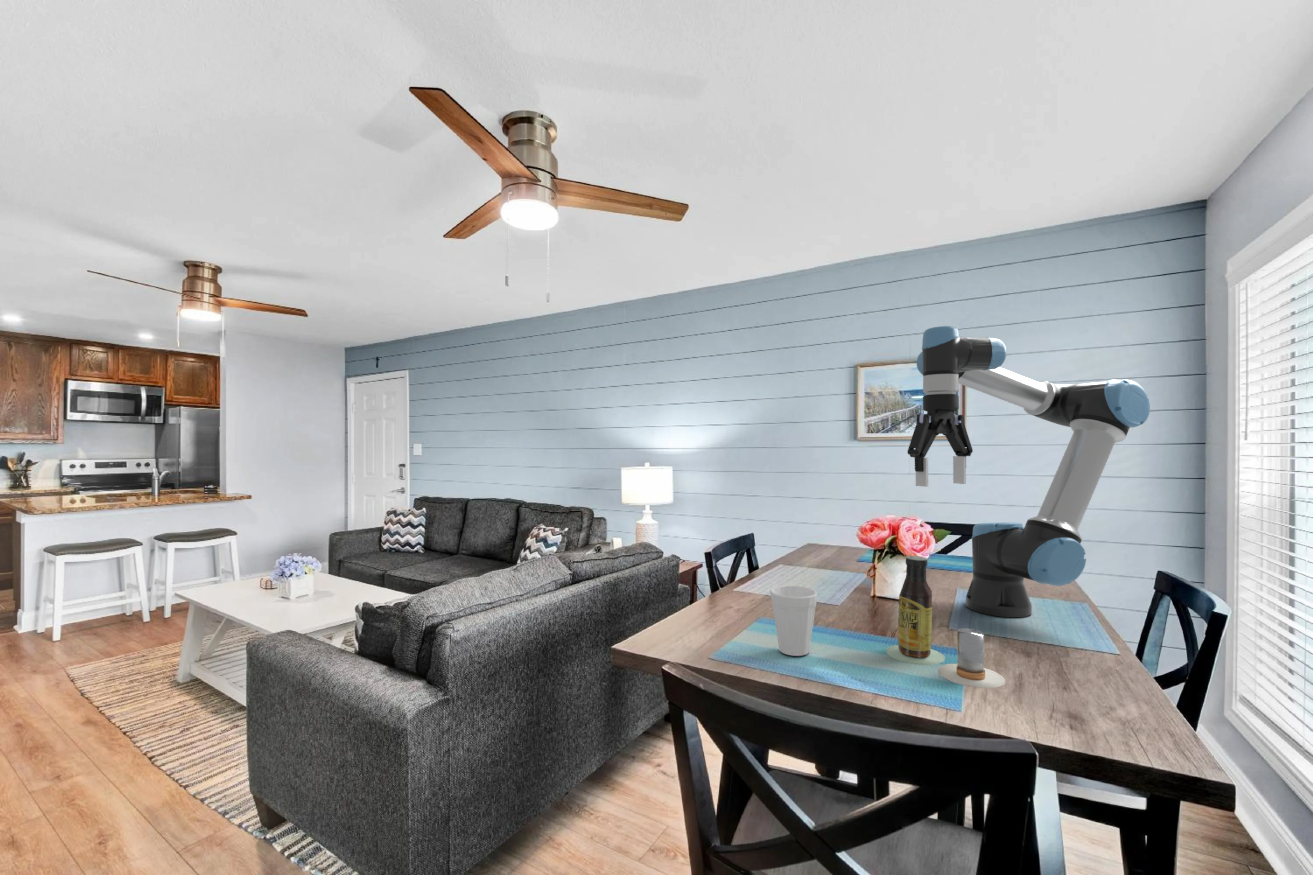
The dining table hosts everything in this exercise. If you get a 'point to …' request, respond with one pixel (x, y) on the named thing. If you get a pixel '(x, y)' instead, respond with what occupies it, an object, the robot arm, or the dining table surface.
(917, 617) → the sauce bottle
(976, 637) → the glass jar
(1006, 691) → the dining table surface
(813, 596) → the cup
